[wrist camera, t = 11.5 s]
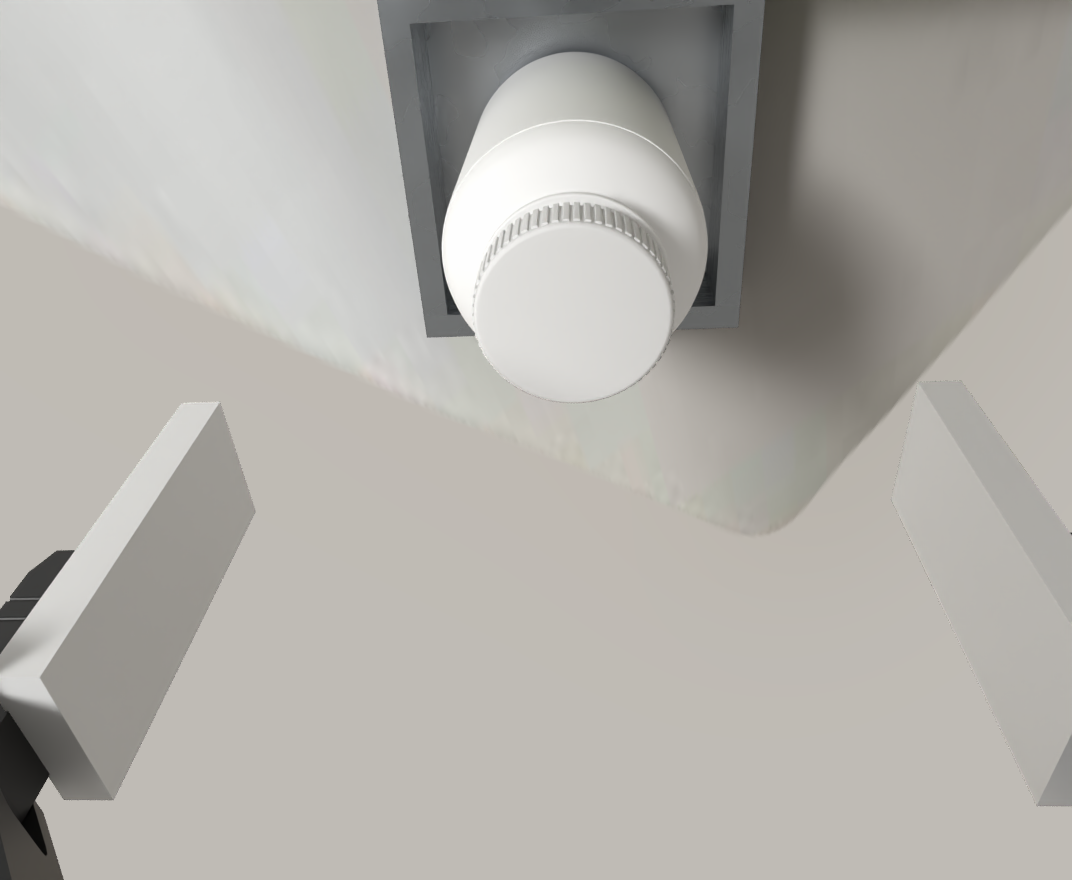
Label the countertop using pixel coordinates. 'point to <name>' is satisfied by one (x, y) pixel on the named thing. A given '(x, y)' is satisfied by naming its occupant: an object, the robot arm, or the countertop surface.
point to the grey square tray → (594, 27)
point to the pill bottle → (574, 230)
